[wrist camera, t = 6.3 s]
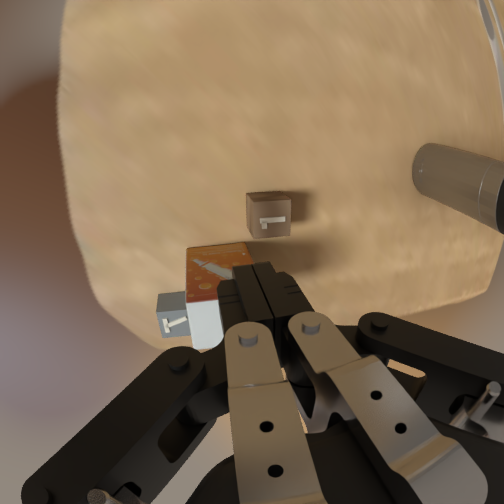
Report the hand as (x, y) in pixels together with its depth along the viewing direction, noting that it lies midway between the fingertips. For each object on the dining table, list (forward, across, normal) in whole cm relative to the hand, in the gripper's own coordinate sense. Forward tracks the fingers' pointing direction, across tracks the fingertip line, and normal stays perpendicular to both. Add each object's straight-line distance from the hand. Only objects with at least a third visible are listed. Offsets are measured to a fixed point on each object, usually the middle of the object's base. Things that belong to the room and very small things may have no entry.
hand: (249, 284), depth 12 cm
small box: (+26, 0, +12) cm, 29 cm away
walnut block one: (+26, -7, +5) cm, 27 cm away
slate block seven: (+26, +7, +18) cm, 32 cm away
